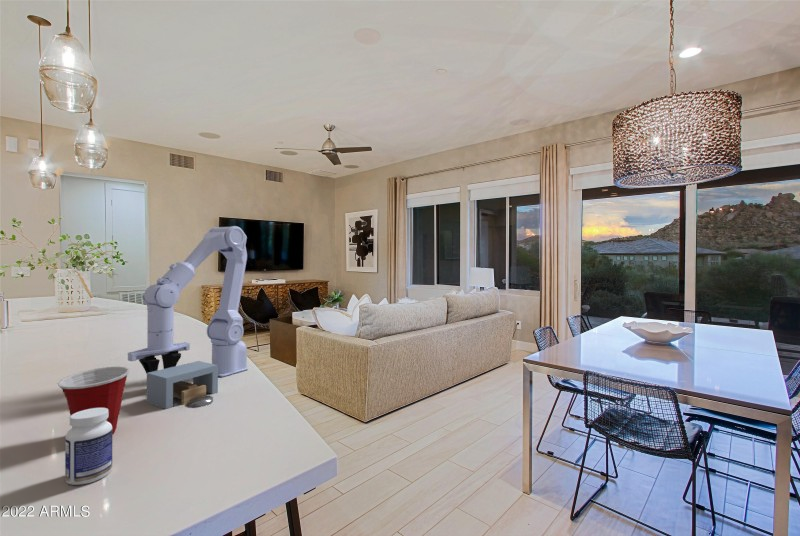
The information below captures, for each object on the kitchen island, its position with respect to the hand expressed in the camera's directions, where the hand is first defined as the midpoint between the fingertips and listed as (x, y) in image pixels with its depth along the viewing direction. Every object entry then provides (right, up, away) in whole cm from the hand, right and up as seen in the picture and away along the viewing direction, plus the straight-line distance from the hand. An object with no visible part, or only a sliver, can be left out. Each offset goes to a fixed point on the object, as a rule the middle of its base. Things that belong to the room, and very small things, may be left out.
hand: (160, 382), depth 99 cm
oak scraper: (+5, -2, -3) cm, 6 cm away
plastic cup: (+4, -3, -26) cm, 26 cm away
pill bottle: (+14, -3, -39) cm, 42 cm away
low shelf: (+9, -2, -5) cm, 10 cm away
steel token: (+15, -3, -8) cm, 17 cm away
